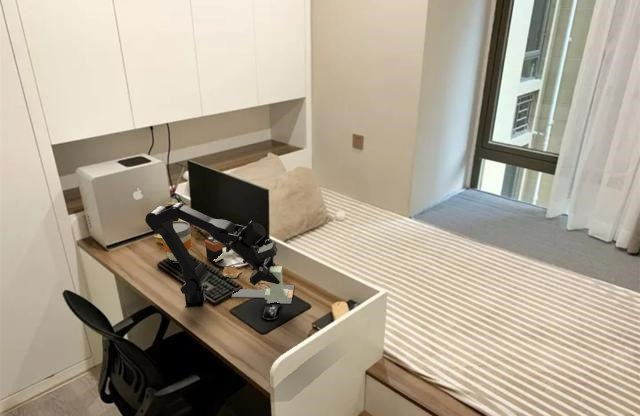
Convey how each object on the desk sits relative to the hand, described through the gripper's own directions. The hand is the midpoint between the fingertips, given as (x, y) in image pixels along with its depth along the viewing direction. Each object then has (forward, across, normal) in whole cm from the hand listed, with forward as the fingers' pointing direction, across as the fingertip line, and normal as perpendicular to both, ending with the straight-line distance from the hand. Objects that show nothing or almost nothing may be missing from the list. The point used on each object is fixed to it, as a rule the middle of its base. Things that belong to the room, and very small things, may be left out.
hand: (280, 279), depth 158 cm
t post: (+4, 0, +6) cm, 7 cm away
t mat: (+2, +9, +16) cm, 18 cm away
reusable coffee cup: (-26, +35, +45) cm, 63 cm away
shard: (-9, +24, +28) cm, 37 cm away
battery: (-15, +35, +33) cm, 50 cm away
